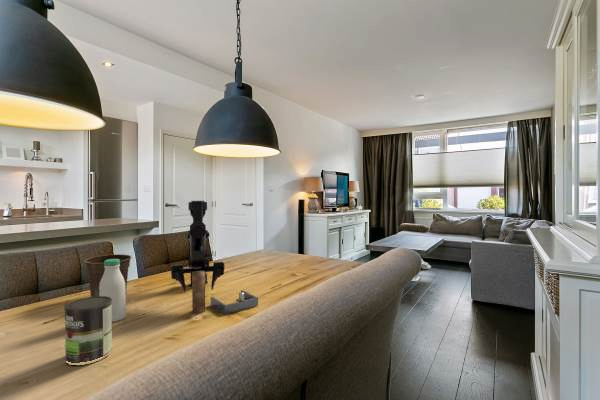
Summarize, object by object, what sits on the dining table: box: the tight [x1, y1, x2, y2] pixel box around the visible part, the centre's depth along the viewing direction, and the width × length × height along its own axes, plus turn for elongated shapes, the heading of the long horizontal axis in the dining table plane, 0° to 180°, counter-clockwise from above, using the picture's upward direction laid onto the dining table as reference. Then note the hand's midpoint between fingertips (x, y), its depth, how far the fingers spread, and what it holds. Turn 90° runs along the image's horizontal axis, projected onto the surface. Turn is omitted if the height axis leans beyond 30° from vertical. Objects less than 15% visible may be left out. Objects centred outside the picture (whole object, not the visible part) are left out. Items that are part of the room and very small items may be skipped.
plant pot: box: [84, 254, 132, 297], centre depth 127 cm, size 16×16×16 cm
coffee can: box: [63, 296, 113, 363], centre depth 82 cm, size 10×10×14 cm
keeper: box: [210, 290, 259, 315], centre depth 118 cm, size 12×14×6 cm
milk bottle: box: [99, 259, 127, 323], centre depth 106 cm, size 8×8×20 cm
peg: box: [191, 271, 206, 314], centre depth 113 cm, size 4×4×14 cm
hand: (198, 290), depth 112 cm, fingers open, 9 cm apart
